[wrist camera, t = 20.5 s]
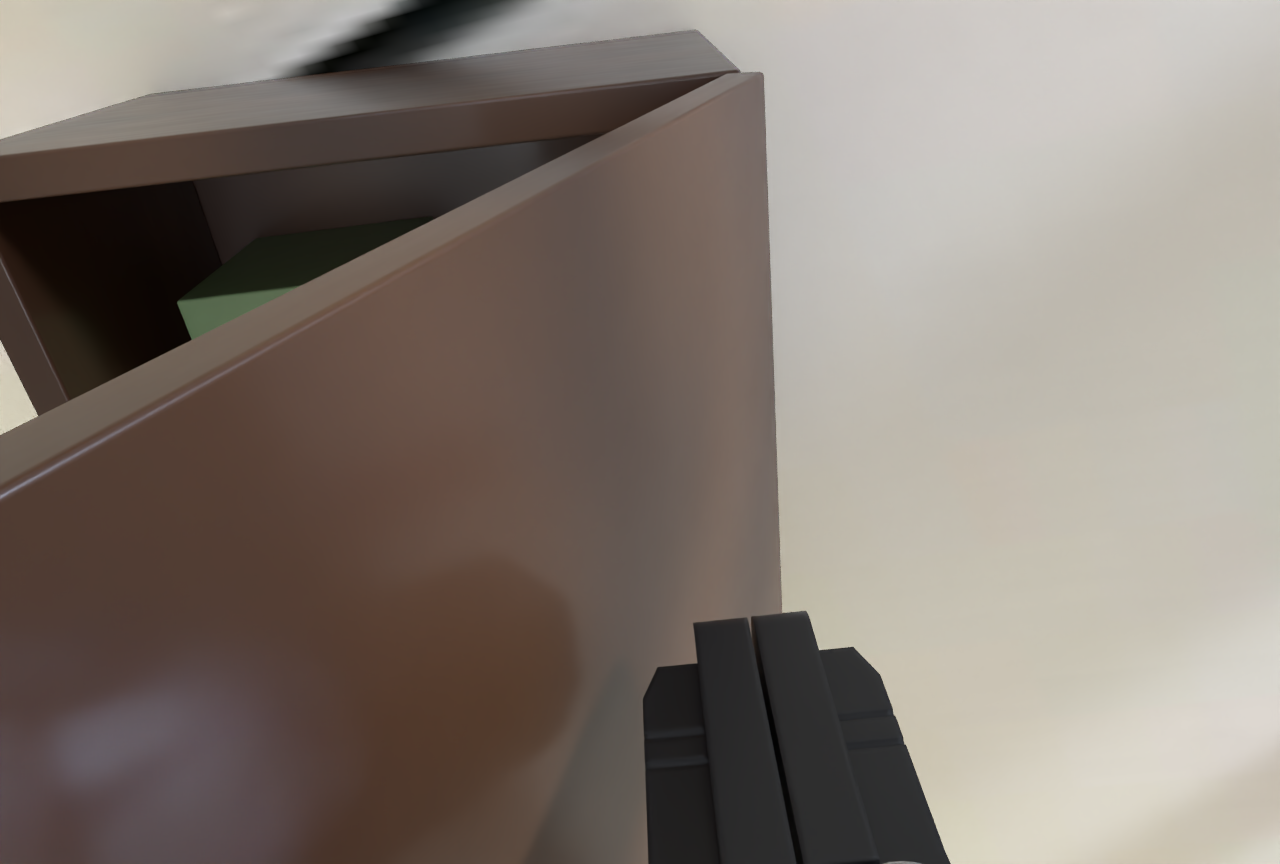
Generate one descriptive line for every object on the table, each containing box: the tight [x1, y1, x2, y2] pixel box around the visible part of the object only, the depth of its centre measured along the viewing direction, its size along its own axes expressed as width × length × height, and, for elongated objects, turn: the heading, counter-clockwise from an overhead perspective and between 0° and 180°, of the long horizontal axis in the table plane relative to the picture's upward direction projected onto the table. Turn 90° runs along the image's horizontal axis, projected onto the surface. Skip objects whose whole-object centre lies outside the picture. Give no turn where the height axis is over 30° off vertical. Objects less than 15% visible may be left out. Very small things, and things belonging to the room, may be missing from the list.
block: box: [177, 216, 434, 340], centre depth 23 cm, size 5×5×5 cm
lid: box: [0, 72, 782, 864], centre depth 12 cm, size 15×13×1 cm
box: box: [0, 30, 741, 416], centre depth 22 cm, size 15×13×9 cm
